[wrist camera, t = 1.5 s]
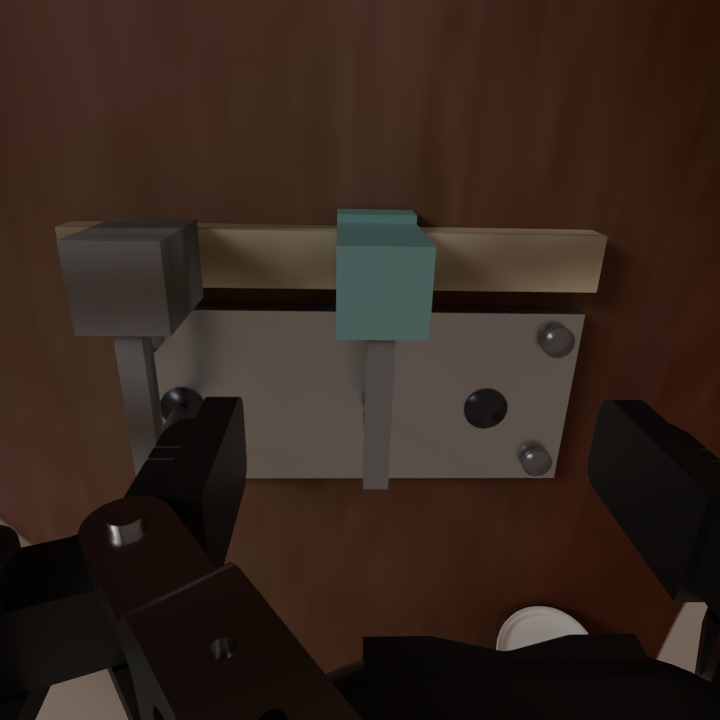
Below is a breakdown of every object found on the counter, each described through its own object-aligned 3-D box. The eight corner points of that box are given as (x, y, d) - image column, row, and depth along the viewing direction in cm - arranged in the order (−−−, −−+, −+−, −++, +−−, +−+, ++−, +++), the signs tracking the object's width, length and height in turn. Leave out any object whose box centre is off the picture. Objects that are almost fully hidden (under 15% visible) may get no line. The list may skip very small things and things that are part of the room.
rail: (71, 210, 29) (-23, 238, 21) (593, 220, 30) (676, 250, 22) (107, 412, 33) (41, 492, 26) (556, 413, 34) (616, 491, 27)
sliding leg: (337, 208, 29) (336, 235, 21) (412, 210, 29) (437, 237, 22) (336, 414, 34) (335, 494, 26) (400, 415, 34) (417, 494, 26)
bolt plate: (123, 302, 31) (110, 313, 29) (576, 308, 32) (590, 318, 30) (148, 467, 35) (138, 485, 33) (547, 467, 36) (557, 484, 34)
